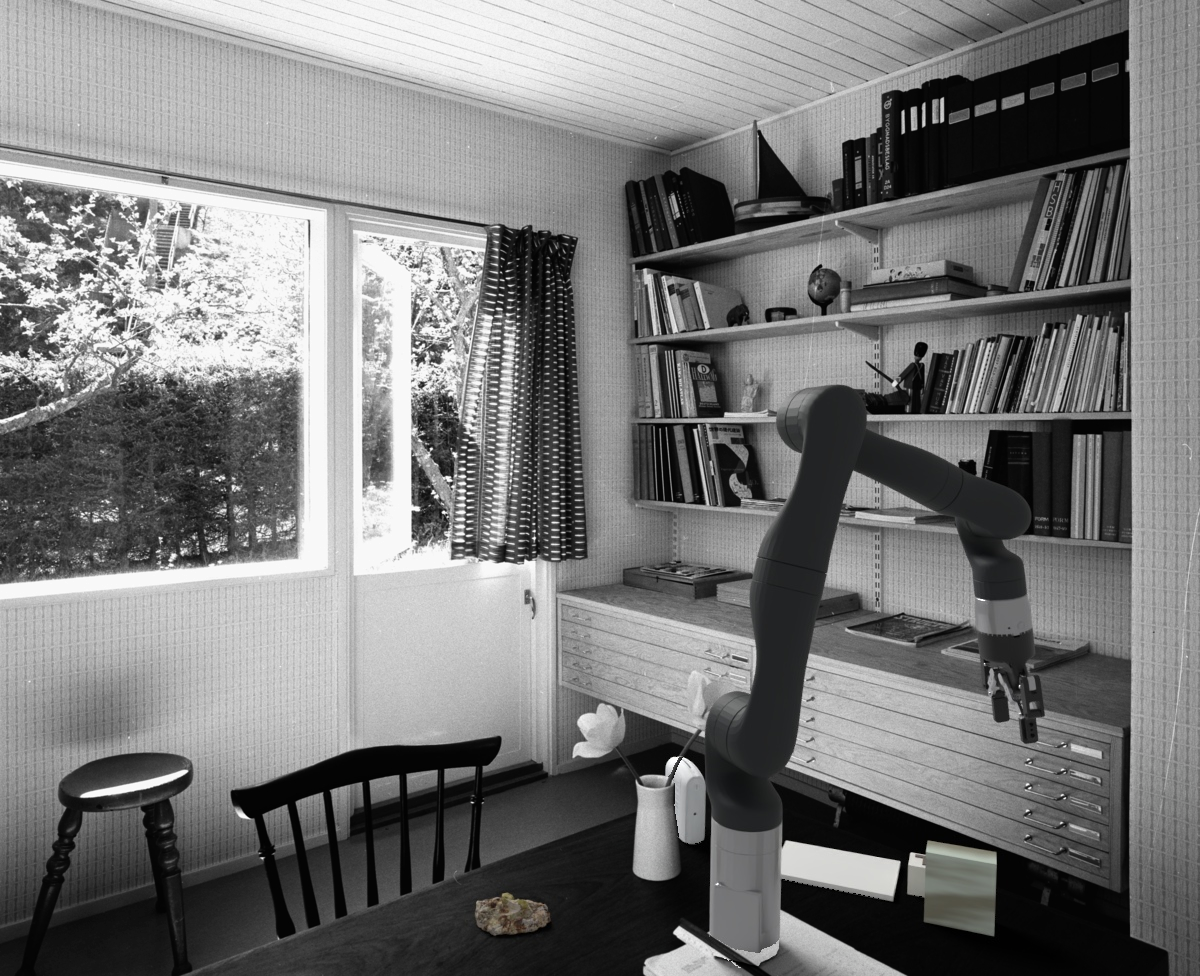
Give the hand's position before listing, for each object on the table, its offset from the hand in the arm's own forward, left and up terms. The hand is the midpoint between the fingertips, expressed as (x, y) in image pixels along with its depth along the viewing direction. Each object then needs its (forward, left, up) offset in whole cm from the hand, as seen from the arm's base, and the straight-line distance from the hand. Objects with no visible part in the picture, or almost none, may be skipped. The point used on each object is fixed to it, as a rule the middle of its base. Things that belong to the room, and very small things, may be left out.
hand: (1015, 731), depth 133 cm
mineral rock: (-37, +64, -25) cm, 78 cm away
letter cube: (-4, +12, -25) cm, 28 cm away
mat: (-4, +25, -24) cm, 35 cm away
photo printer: (0, +51, -25) cm, 56 cm away
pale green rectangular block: (-12, +7, -24) cm, 28 cm away
